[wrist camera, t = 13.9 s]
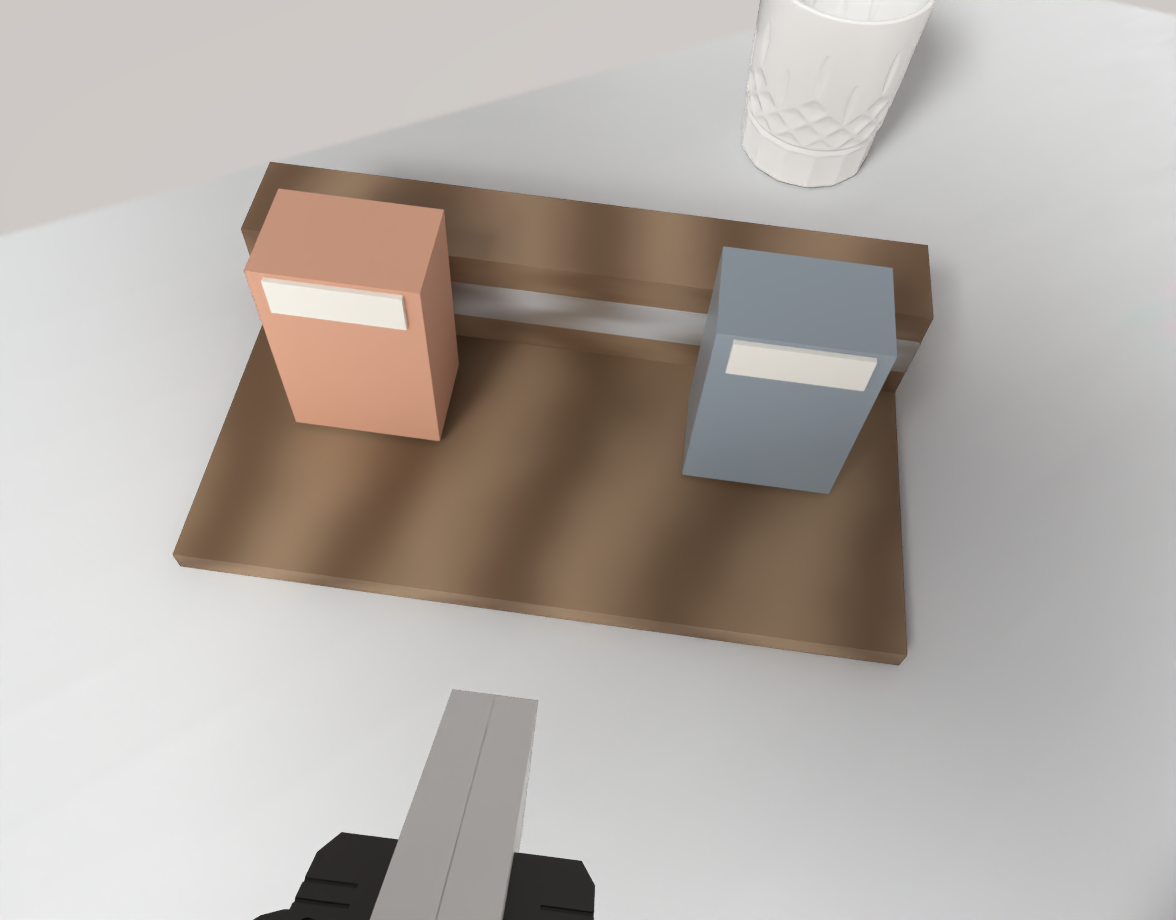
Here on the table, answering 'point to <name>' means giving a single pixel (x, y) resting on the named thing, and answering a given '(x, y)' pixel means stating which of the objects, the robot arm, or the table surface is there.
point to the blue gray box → (787, 368)
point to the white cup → (825, 83)
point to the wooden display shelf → (570, 443)
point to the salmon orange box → (358, 311)
